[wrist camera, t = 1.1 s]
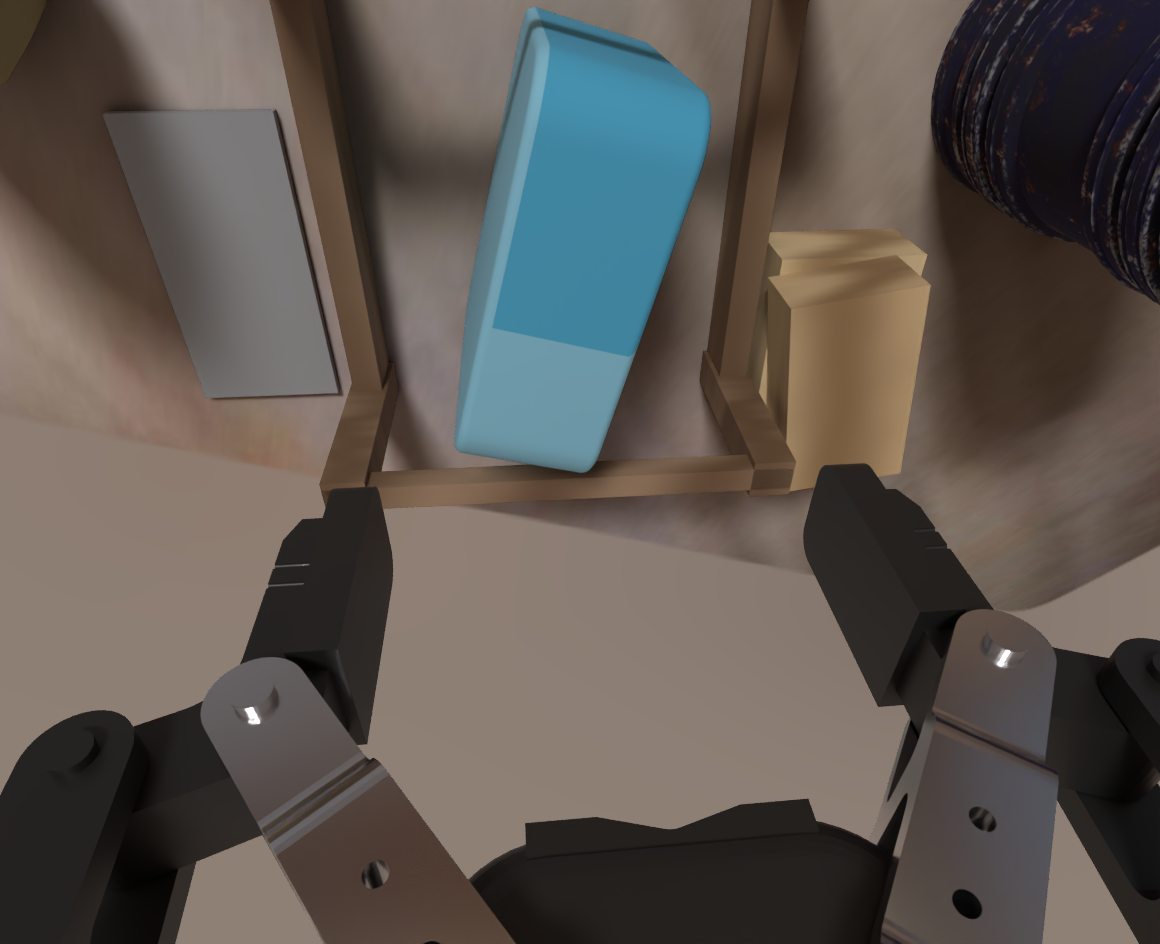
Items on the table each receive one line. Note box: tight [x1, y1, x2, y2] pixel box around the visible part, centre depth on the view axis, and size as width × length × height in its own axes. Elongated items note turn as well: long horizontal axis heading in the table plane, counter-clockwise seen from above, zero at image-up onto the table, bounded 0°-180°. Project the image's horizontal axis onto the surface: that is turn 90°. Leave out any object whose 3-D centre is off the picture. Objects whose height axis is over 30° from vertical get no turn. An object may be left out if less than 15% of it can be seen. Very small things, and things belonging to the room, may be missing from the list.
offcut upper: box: [766, 255, 931, 491], centre depth 31 cm, size 5×9×3 cm, turn 9°
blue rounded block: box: [454, 7, 711, 473], centre depth 25 cm, size 12×4×12 cm, turn 164°
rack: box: [270, 0, 809, 509], centre depth 26 cm, size 18×19×9 cm
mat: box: [102, 109, 340, 398], centre depth 30 cm, size 6×12×1 cm, turn 0°
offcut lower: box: [747, 229, 927, 405], centre depth 33 cm, size 6×10×4 cm, turn 0°
